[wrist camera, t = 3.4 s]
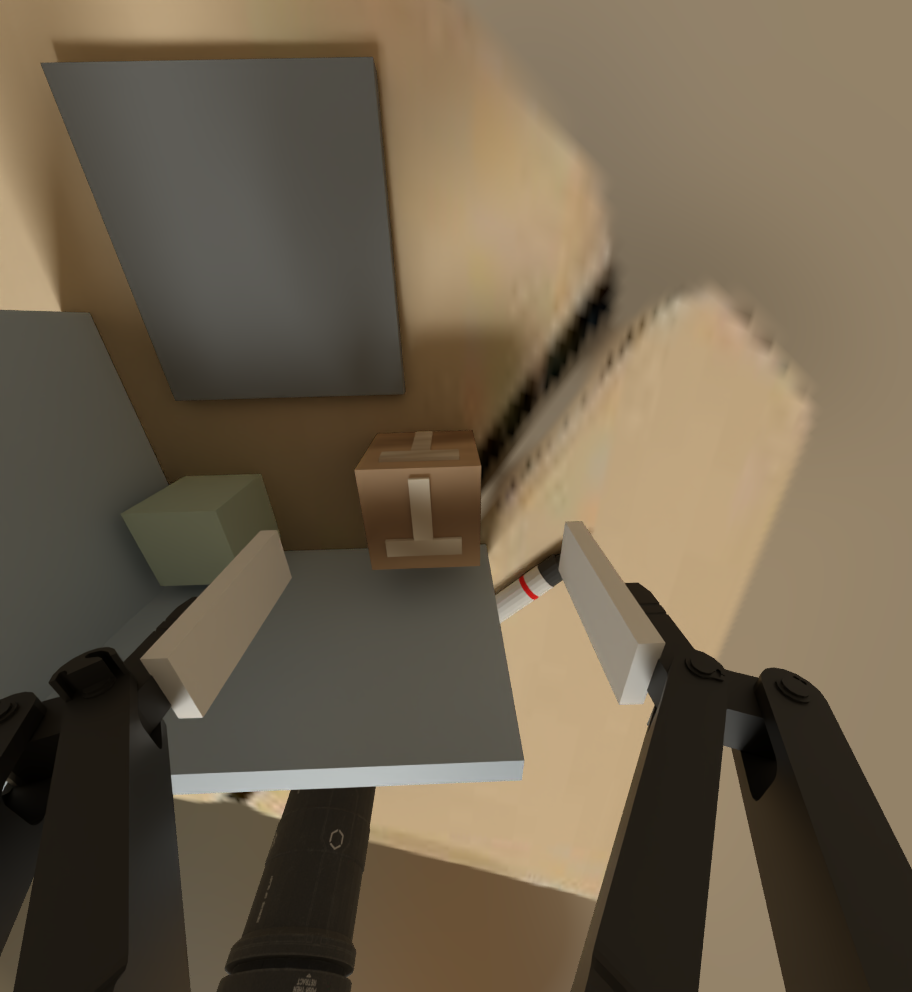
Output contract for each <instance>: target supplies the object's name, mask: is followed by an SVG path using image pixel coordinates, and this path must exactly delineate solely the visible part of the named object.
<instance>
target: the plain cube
mask: <svg viewBox="0 0 912 992" xmlns="http://www.w3.org/2000/svg"><path fill="white" fill-rule="evenodd" d="M121 516H122V518H123V520H124V521H125V523H126V525H127V527H128V528H129V530H130V532H131V534H132V536H133V537H134V539H135V541H136V543H137V545H138V546H139V548H140V550H141V552H142V554H143V555H144V557H145V559H146V561H147V562H148V564H149V566H150V568H151V570H152V571H153V573H154V575H155V577H156V579H157V580H158V582H159V584H160V586H180V585H208V584H211V583H212V582H213V581H214V580H215V578H216V577H217V576H218V575H219V574H220V573H221V572H222V571H223V570H224V569H225V568H226V567H227V566H228V565H229V564H230V562H231V561H232V560H233V559H234V558H235V557H236V556H237V555H238V554H239V553H240V552H241V551H242V550H243V549H244V548H245V547H246V545H247V544H248V543H249V542H250V541H251V540H252V539H253V538H254V537H255V536H256V535H257V534H258V533H259V532H260V531H264V530H277V531H278V534H279V537H281V535H280V532H279V529H278V526H277V523H276V520H275V516H274V513H273V510H272V507H271V504H270V501H269V497H268V494H267V491H266V488H265V485H264V481H263V478H262V475H261V474H238V475H205V476H184V477H183V478H181V479H179V480H177V481H176V482H174V483H172V484H171V485H169V486H167V487H165V488H164V489H162V490H160V491H159V492H157V493H155V494H154V495H152V496H150V497H148V498H147V499H145V500H143V501H142V502H140V503H138V504H136V505H135V506H133V507H131V508H130V509H128V510H126V511H125V512H123V513H121Z"/></svg>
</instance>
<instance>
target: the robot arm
mask: <svg viewBox="0 0 912 992" xmlns="http://www.w3.org/2000/svg"><path fill="white" fill-rule="evenodd" d="M558 570H559V572H560V574H561V577H562V579H563V581H564V583H565V586H566V588H567V590H568V592H569V594H570V597H571V599H572V601H573V603H574V606H575V608H576V610H577V612H578V614H579V617H580V619H581V621H582V623H583V626H584V628H585V630H586V632H587V634H588V637H589V639H590V641H591V643H592V646H593V648H594V650H595V652H596V654H597V657H598V659H599V661H600V663H601V666H602V668H603V670H604V672H605V674H606V677H607V679H608V681H609V683H610V685H611V688H612V690H613V692H614V694H615V697H616V699H617V701H618V703H619V705H627V704H644V701H645V698H646V695H647V693H649V695H650V697H651V699H652V701H653V702H654V704H655V706H654V708H653V711H652V713H651V716H650V718H649V721H648V724H647V725H648V728H647V732H646V735H645V738H644V742H643V745H642V749H641V752H640V756H639V759H638V762H637V766H636V769H635V773H634V776H633V780H632V783H631V786H630V790H629V793H628V797H627V800H626V804H625V807H624V811H623V814H622V817H621V821H620V824H619V828H618V831H617V835H616V838H615V841H614V845H613V848H612V852H611V855H610V859H609V862H608V865H607V869H606V872H605V876H604V879H603V883H602V886H601V890H600V893H599V896H598V900H597V903H596V907H595V910H594V914H593V917H592V920H591V924H590V927H589V931H588V934H587V938H586V941H585V945H584V948H583V951H582V955H581V958H580V962H579V965H578V969H577V972H576V975H575V979H574V982H573V985H572V989H571V992H698V988H699V978H700V968H701V958H702V949H703V938H704V928H705V918H706V909H707V899H708V889H709V880H710V869H711V860H712V850H713V840H714V830H715V820H716V811H717V801H718V791H719V790H718V789H719V780H720V771H721V761H722V751H723V745H724V746H727V747H731V748H732V753H733V757H734V762H735V766H736V770H737V774H738V779H739V784H740V788H741V793H742V797H743V802H744V806H745V810H746V815H747V820H748V824H749V828H750V833H751V837H752V842H753V846H754V850H755V855H756V860H757V864H758V868H759V873H760V878H761V882H762V887H763V890H764V896H765V899H766V904H767V909H768V913H769V918H770V922H771V927H772V931H773V936H774V940H775V944H776V949H777V953H778V958H779V962H780V967H781V971H782V976H783V980H784V985H785V989H786V992H912V869H911V867H910V865H909V863H908V861H907V859H906V857H905V855H904V853H903V851H902V849H901V847H900V845H899V843H898V841H897V839H896V837H895V835H894V833H893V831H892V829H891V827H890V825H889V823H888V821H887V819H886V817H885V816H884V813H883V811H882V809H881V807H880V805H879V803H878V801H877V799H876V797H875V796H874V793H873V791H872V790H871V788H870V786H869V784H868V782H867V780H866V778H865V776H864V774H863V772H862V770H861V768H860V766H859V764H858V762H857V760H856V758H855V756H854V754H853V752H852V750H851V748H850V746H849V744H848V742H847V740H846V738H845V736H844V734H843V732H842V730H841V728H840V726H839V724H838V722H837V720H836V718H835V716H834V715H833V712H832V710H831V708H830V706H829V704H828V702H827V700H826V699H825V698H824V696H823V695H822V694H821V692H820V691H819V690H818V689H817V688H816V687H814V686H813V685H812V684H811V683H810V682H808V681H807V680H805V679H803V678H802V677H800V676H799V675H797V674H794V673H792V672H789V671H787V670H784V669H779V668H767V669H765V670H764V671H763V672H762V673H761V674H760V676H759V678H757V677H753V676H749V675H745V674H741V673H736V672H732V671H729V670H726V669H724V668H723V666H722V665H721V664H720V663H719V662H717V661H716V660H715V659H714V658H712V657H711V656H709V655H707V654H705V653H704V652H701V651H698V650H695V649H694V648H693V647H692V645H691V644H690V643H689V641H688V640H687V639H686V638H685V636H684V635H683V634H682V632H681V631H680V630H679V628H678V627H677V626H676V624H675V623H674V622H673V620H672V619H671V618H670V617H669V615H667V614H666V611H665V610H664V609H663V607H662V606H661V605H659V602H658V601H657V600H656V598H655V597H654V596H653V594H652V593H651V592H650V591H649V590H647V589H646V588H645V587H643V586H642V585H641V584H639V583H624V582H623V580H622V579H621V577H620V576H619V575H618V573H617V572H616V570H615V569H614V567H613V566H612V564H611V563H610V561H609V560H608V559H607V557H606V556H605V554H604V553H603V551H602V550H601V548H600V547H599V545H598V544H597V542H596V541H595V540H594V538H593V537H592V535H591V534H590V532H589V531H588V529H587V528H586V526H585V525H584V524H583V522H582V521H574V522H565V527H564V534H563V541H562V548H561V555H560V562H559V569H558ZM291 578H292V576H291V573H290V570H289V566H288V563H287V560H286V557H285V553H284V550H283V547H282V544H281V540H280V537H279V534H278V531H277V530H264V531H260V532H259V533H258V534H257V535H256V536H255V537H254V538H253V539H252V540H251V541H250V542H249V543H248V544H247V545H246V547H245V548H244V549H243V550H242V551H241V552H240V553H239V554H238V555H237V556H236V557H235V558H234V559H233V560H232V561H231V562H230V564H229V565H228V566H227V567H226V568H225V569H224V570H223V571H222V572H221V573H220V574H219V575H218V576H217V577H216V578H215V580H214V581H213V582H212V583H211V584H210V585H209V586H208V587H207V588H206V589H205V590H204V591H203V592H202V593H201V594H200V595H199V597H191V598H190V599H188V600H187V601H185V602H184V603H182V604H181V605H180V606H178V607H177V608H176V609H175V610H174V611H173V612H172V613H171V614H170V615H169V616H168V617H167V618H166V620H165V621H163V622H162V623H161V624H160V625H159V626H158V627H157V628H156V631H153V632H152V633H151V634H150V635H149V636H148V637H147V638H146V639H145V640H144V641H143V642H142V643H141V644H140V645H139V646H138V647H137V649H136V650H135V651H134V652H133V653H132V654H131V655H130V656H129V657H128V658H127V659H126V660H125V661H124V662H123V660H122V659H121V658H120V656H119V655H118V653H117V652H116V650H115V649H114V648H110V647H102V648H96V649H93V650H90V651H87V652H85V653H83V654H81V655H79V656H77V657H75V658H73V659H71V660H70V661H69V662H67V663H66V664H64V665H63V666H61V667H60V668H59V669H58V670H57V671H56V672H55V673H54V674H53V675H52V677H51V679H50V681H49V682H48V683H49V684H50V686H51V687H52V688H53V689H54V690H55V691H56V692H57V694H58V695H59V696H60V697H56V698H53V699H49V700H46V701H42V702H41V701H40V699H39V698H38V697H37V696H36V695H35V694H34V693H33V692H21V693H16V694H13V695H10V696H8V697H5V698H3V699H0V955H1V953H2V951H3V948H4V946H5V944H6V941H7V939H8V936H9V934H10V932H11V929H12V927H13V925H14V922H15V920H16V917H17V915H18V913H19V910H20V908H21V906H22V903H23V901H24V899H25V896H26V893H27V891H28V889H29V886H30V884H31V882H32V879H33V877H34V880H33V885H32V891H31V897H30V902H29V908H28V914H27V919H26V924H25V930H24V936H23V941H22V946H21V952H20V958H19V963H18V969H17V974H16V980H15V986H14V991H13V992H191V989H190V979H189V967H188V957H187V947H186V946H187V945H186V934H185V923H184V913H183V901H182V891H181V880H180V868H179V859H178V846H177V835H176V824H175V813H174V802H173V791H172V780H171V769H170V758H169V747H168V736H167V726H166V723H165V721H164V720H163V717H164V716H165V715H166V713H167V712H168V710H169V709H170V708H171V707H172V709H173V710H174V712H175V714H176V715H177V717H178V718H203V717H204V716H205V714H206V712H207V711H208V709H209V708H210V706H211V704H212V703H213V701H214V700H215V698H216V697H217V695H218V693H219V692H220V690H221V689H222V687H223V686H224V684H225V682H226V681H227V679H228V678H229V676H230V675H231V673H232V671H233V670H234V668H235V667H236V665H237V664H238V662H239V660H240V659H241V657H242V656H243V654H244V652H245V651H246V649H247V648H248V646H249V645H250V643H251V641H252V640H253V638H254V637H255V635H256V634H257V632H258V630H259V629H260V627H261V626H262V624H263V623H264V621H265V619H266V618H267V616H268V615H269V613H270V612H271V610H272V608H273V607H274V605H275V604H276V602H277V601H278V599H279V597H280V596H281V594H282V593H283V591H284V589H285V588H286V586H287V585H288V583H289V582H290V580H291ZM6 781H7V784H6V786H5V787H4V785H5V782H6ZM3 787H4V789H3ZM2 790H3V791H2Z"/></svg>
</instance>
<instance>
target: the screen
mask: <svg viewBox="0 0 912 992" xmlns="http://www.w3.org/2000/svg"><path fill="white" fill-rule="evenodd" d="M167 486H169V484H168V482H167V480H166V478H165V476H164V473H163V471H162V469H161V467H160V465H159V463H158V460H157V458H156V456H155V454H154V452H153V450H152V447H151V445H150V443H149V441H148V439H147V437H146V434H145V432H144V430H143V428H142V426H141V423H140V421H139V419H138V417H137V415H136V413H135V410H134V408H133V406H132V404H131V402H130V400H129V397H128V395H127V393H126V391H125V389H124V387H123V384H122V382H121V380H120V378H119V376H118V374H117V371H116V369H115V367H114V365H113V363H112V360H111V358H110V356H109V354H108V352H107V350H106V347H105V345H104V343H103V341H102V339H101V337H100V334H99V332H98V330H97V328H96V326H95V324H94V321H93V319H92V317H91V315H90V313H86V312H53V311H19V310H0V699H3V698H5V697H8V696H10V695H13V694H16V693H21V692H33V693H34V694H35V695H36V696H37V697H38V698H39V699H40V701H41V702H42V701H46V700H49V699H53V698H56V697H60V696H59V695H58V694H57V692H56V691H55V690H54V689H53V688H52V687H51V686H50V684H49V683H48V682H49V681H50V679H51V677H52V675H53V674H54V673H55V672H56V671H57V670H58V669H59V668H60V667H61V666H63V665H64V664H66V663H67V662H69V661H70V660H71V659H73V658H75V657H77V656H79V655H81V654H83V653H85V652H87V651H90V650H93V649H96V648H102V647H110V648H114V649H115V650H116V652H117V653H118V655H119V656H120V658H121V659H122V660H123V662H124V661H125V660H126V659H127V658H128V657H129V656H130V655H131V654H132V653H133V652H134V651H135V650H136V649H137V647H138V646H139V645H140V644H141V643H142V642H143V641H144V640H145V639H146V638H147V637H148V636H149V635H150V634H151V633H152V632H153V631H156V628H157V627H158V626H159V625H160V624H161V623H162V622H163V621H165V620H166V618H167V617H168V616H169V615H170V614H171V613H172V612H173V611H174V610H175V609H176V608H177V607H178V606H180V605H181V604H182V603H184V602H185V601H187V600H188V599H190V598H191V597H199V595H200V594H201V593H202V592H203V591H204V590H205V589H206V588H207V587H208V586H209V585H210V584H208V585H180V586H160V584H159V582H158V580H157V579H156V577H155V575H154V573H153V571H152V570H151V568H150V566H149V564H148V562H147V561H146V559H145V557H144V555H143V554H142V552H141V550H140V548H139V546H138V545H137V543H136V541H135V539H134V537H133V536H132V534H131V532H130V530H129V528H128V527H127V525H126V523H125V521H124V520H123V518H122V516H121V513H123V512H125V511H126V510H128V509H130V508H131V507H133V506H135V505H136V504H138V503H140V502H142V501H143V500H145V499H147V498H148V497H150V496H152V495H154V494H155V493H157V492H159V491H160V490H162V489H164V488H165V487H167ZM284 553H285V557H286V560H287V563H288V566H289V570H290V573H291V576H292V578H291V580H290V582H289V583H288V585H287V586H286V588H285V589H284V591H283V593H282V594H281V596H280V597H279V599H278V601H277V602H276V604H275V605H274V607H273V608H272V610H271V612H270V613H269V615H268V616H267V618H266V619H265V621H264V623H263V624H262V626H261V627H260V629H259V630H258V632H257V634H256V635H255V637H254V638H253V640H252V641H251V643H250V645H249V646H248V648H247V649H246V651H245V652H244V654H243V656H242V657H241V659H240V660H239V662H238V664H237V665H236V667H235V668H234V670H233V671H232V673H231V675H230V676H229V678H228V679H227V681H226V682H225V684H224V686H223V687H222V689H221V690H220V692H219V693H218V695H217V697H216V698H215V700H214V701H213V703H212V704H211V706H210V708H209V709H208V711H207V712H206V714H205V716H204V717H203V718H178V717H177V715H176V714H175V712H174V710H173V709H172V707H171V708H170V709H169V710H168V712H167V713H166V715H165V716H164V717H163V720H164V721H165V723H166V726H167V736H168V747H169V758H170V769H171V780H172V791H173V795H178V794H202V793H227V792H251V791H275V790H299V789H323V788H348V787H372V786H396V785H420V784H444V783H468V782H493V781H517V780H522V774H523V766H524V756H523V751H522V745H521V739H520V734H519V728H518V722H517V717H516V711H515V705H514V700H513V694H512V688H511V683H510V677H509V671H508V666H507V660H506V655H505V649H504V643H503V638H502V632H501V626H500V621H499V615H498V609H497V604H496V598H495V592H494V587H493V581H492V575H491V570H490V564H489V559H488V553H487V547H486V544H481V545H480V566H467V567H439V568H412V569H385V570H372V566H371V561H370V555H369V549H368V548H362V549H332V550H303V551H284ZM6 784H7V781H6V782H5V785H4V787H5V786H6ZM4 787H3V789H4ZM2 791H3V790H2Z"/></svg>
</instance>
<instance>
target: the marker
mask: <svg viewBox="0 0 912 992" xmlns="http://www.w3.org/2000/svg"><path fill="white" fill-rule="evenodd" d="M560 555H561V554H559V555H557V556H555V555H554V554H553V555H552V556H550V557H549V558H548V559H546V560H545V561H543V562H542V563H541V564H539V565H537V566H535V567H534V568H533V569H531V570H530V571H528V572H527V573H526V574H524V575H523V576H522V577H520V578H519V579H517V580H516V581H515V582H513V583H512V584H510V585H509V586H508V587H506V588H505V589H503V590H502V591H501V592H499V593H498V594H496V595H495V598H496V604H497V609H498V615H499V621H500V623H501V622H503V621H504V620H506V619H507V618H509V617H510V616H512V615H513V614H515V613H516V612H518V611H519V610H520V609H522V608H523V607H525V606H526V605H528V604H529V603H531V602H532V601H534V600H535V599H537V598H538V597H540V596H541V595H543V594H544V593H545V592H547V591H548V590H550V589H551V588H553V587H554V586H555V585H556V584H558V583H559V582H561V581H562V580H563V579H562V577H561V574H560V572H559V570H558V569H559V562H560Z"/></svg>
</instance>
